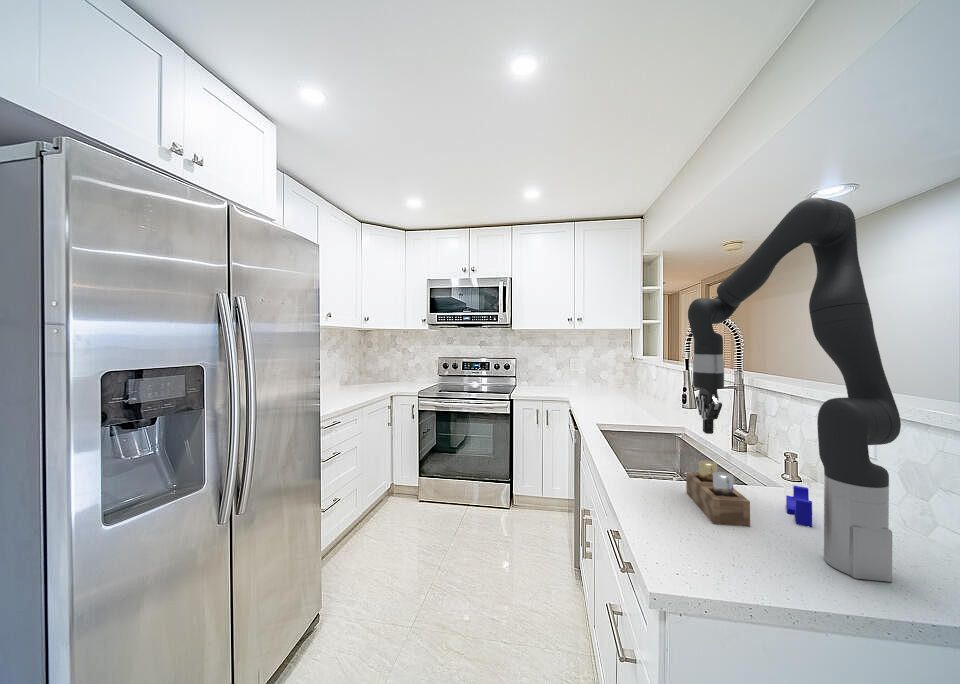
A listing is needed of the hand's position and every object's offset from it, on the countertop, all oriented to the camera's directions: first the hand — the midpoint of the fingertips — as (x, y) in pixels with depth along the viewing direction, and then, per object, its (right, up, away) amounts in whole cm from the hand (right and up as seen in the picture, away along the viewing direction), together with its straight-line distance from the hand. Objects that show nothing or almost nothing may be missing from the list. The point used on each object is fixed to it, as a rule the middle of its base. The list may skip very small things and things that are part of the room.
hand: (708, 433), depth 110 cm
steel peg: (-2, -14, -10) cm, 17 cm away
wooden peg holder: (-1, -19, -5) cm, 19 cm away
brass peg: (0, -14, 0) cm, 14 cm away
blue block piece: (+17, -19, -10) cm, 28 cm away
